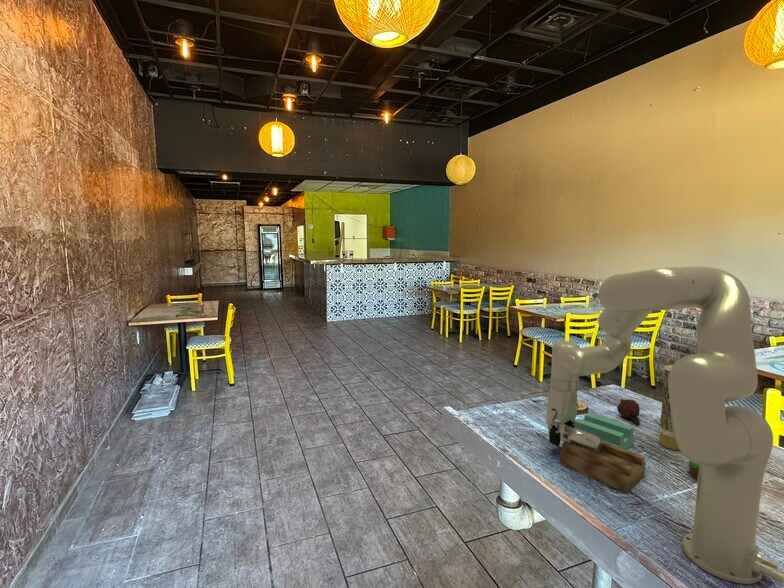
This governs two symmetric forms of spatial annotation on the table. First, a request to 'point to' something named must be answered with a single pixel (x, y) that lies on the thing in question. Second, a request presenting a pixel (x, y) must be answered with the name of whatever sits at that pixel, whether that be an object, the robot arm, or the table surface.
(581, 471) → the wooden channel block
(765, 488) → the table surface
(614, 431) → the v block
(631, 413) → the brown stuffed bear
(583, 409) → the tan round flat disc
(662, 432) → the bark patterned canister
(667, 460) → the table surface
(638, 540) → the table surface
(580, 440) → the axle
